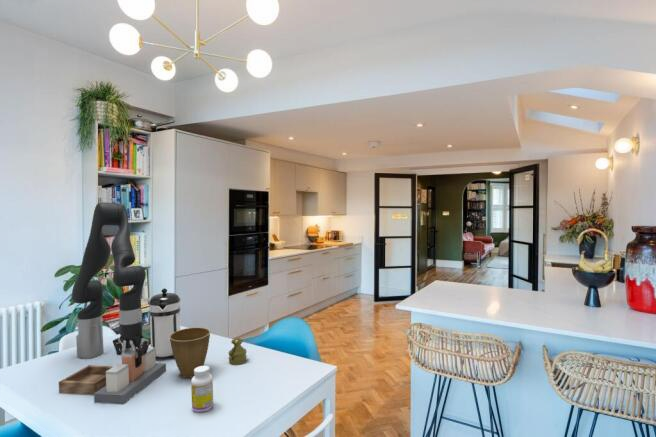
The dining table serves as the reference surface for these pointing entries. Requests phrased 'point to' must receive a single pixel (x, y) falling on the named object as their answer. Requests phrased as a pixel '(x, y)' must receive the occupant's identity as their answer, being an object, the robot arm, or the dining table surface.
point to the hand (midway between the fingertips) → (132, 366)
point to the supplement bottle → (202, 389)
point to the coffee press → (164, 321)
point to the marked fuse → (131, 365)
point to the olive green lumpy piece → (237, 352)
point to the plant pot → (190, 349)
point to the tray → (85, 380)
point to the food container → (146, 332)
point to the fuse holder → (130, 387)
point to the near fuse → (117, 378)
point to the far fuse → (149, 359)
